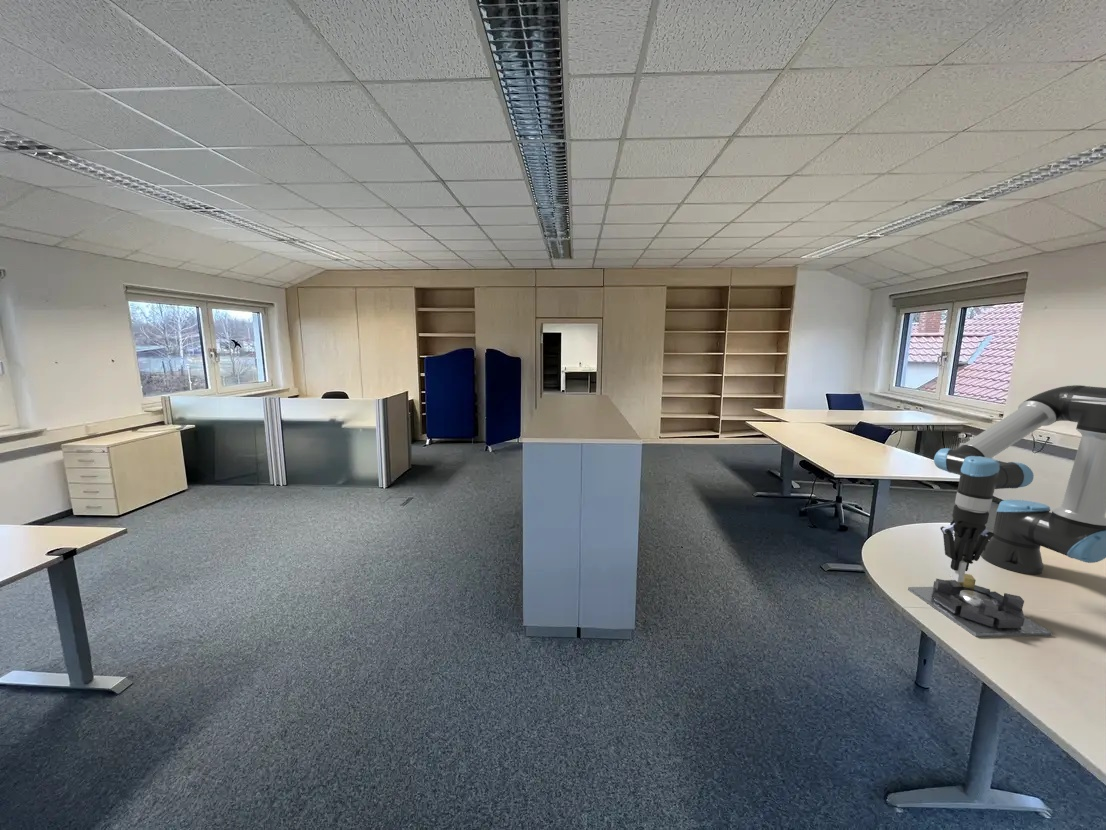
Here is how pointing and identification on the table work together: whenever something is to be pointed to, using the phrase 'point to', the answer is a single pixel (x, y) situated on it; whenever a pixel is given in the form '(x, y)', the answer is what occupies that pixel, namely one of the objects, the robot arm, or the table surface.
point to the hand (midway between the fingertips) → (956, 579)
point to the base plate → (973, 626)
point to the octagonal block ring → (987, 610)
